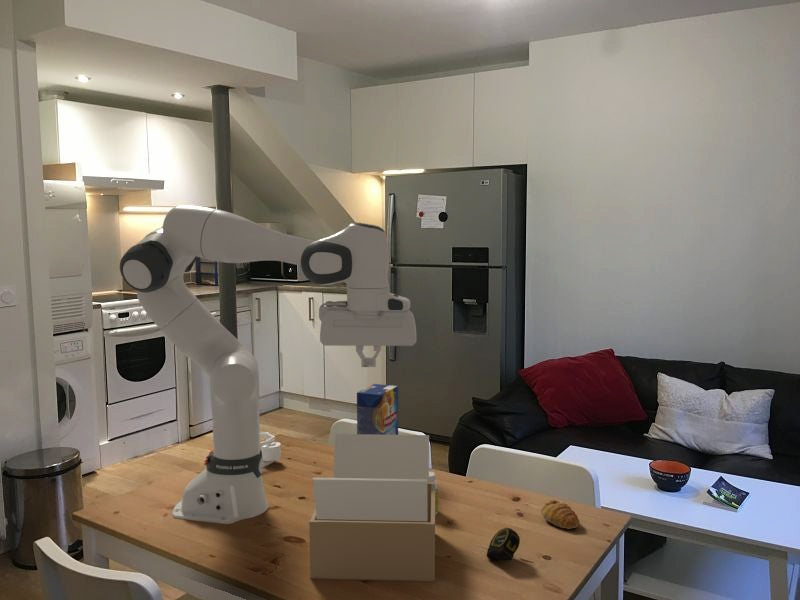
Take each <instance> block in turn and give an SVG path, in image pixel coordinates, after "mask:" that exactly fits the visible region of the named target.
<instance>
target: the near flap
mask: <svg viewBox="0 0 800 600" xmlns="http://www.w3.org/2000/svg"><path fill="white" fill-rule="evenodd" d="M312 484H313V485H312V487H313V496H314V503H315V508H316V515H317V519H335V520H387V521H428V513H427V479H371V478H333V477H312Z"/></svg>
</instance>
